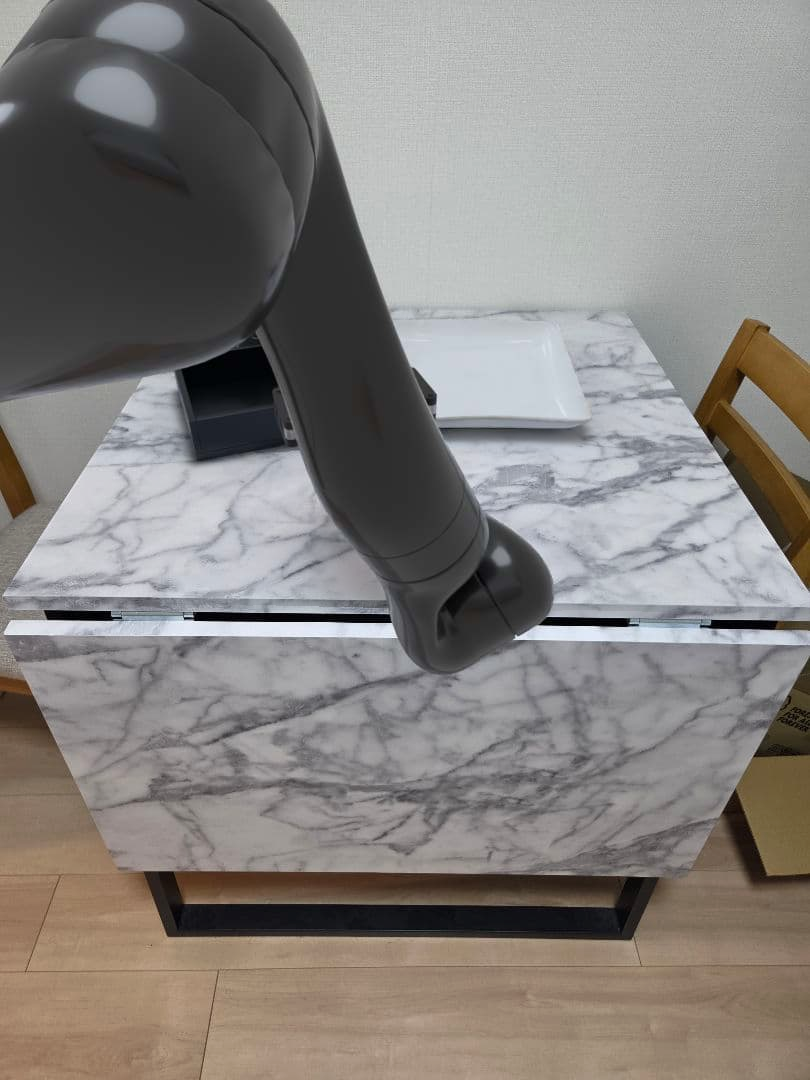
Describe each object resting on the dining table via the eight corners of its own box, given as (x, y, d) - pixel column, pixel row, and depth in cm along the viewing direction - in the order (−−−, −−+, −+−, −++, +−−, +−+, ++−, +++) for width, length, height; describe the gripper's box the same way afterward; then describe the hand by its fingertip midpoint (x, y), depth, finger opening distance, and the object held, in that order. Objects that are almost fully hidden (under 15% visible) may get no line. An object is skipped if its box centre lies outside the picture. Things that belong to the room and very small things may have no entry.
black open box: (197, 461, 89) (188, 421, 85) (178, 393, 100) (170, 356, 97) (331, 436, 93) (328, 397, 90) (298, 373, 105) (295, 337, 101)
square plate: (375, 341, 113) (374, 316, 110) (554, 342, 113) (558, 318, 111) (370, 441, 92) (370, 414, 90) (589, 443, 93) (595, 416, 90)
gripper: (473, 405, 59) (402, 319, 71) (296, 437, 55) (252, 340, 67) (466, 481, 64) (401, 389, 75) (303, 515, 60) (261, 412, 72)
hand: (331, 366), depth 71 cm, fingers closed on soda can, 7 cm apart
